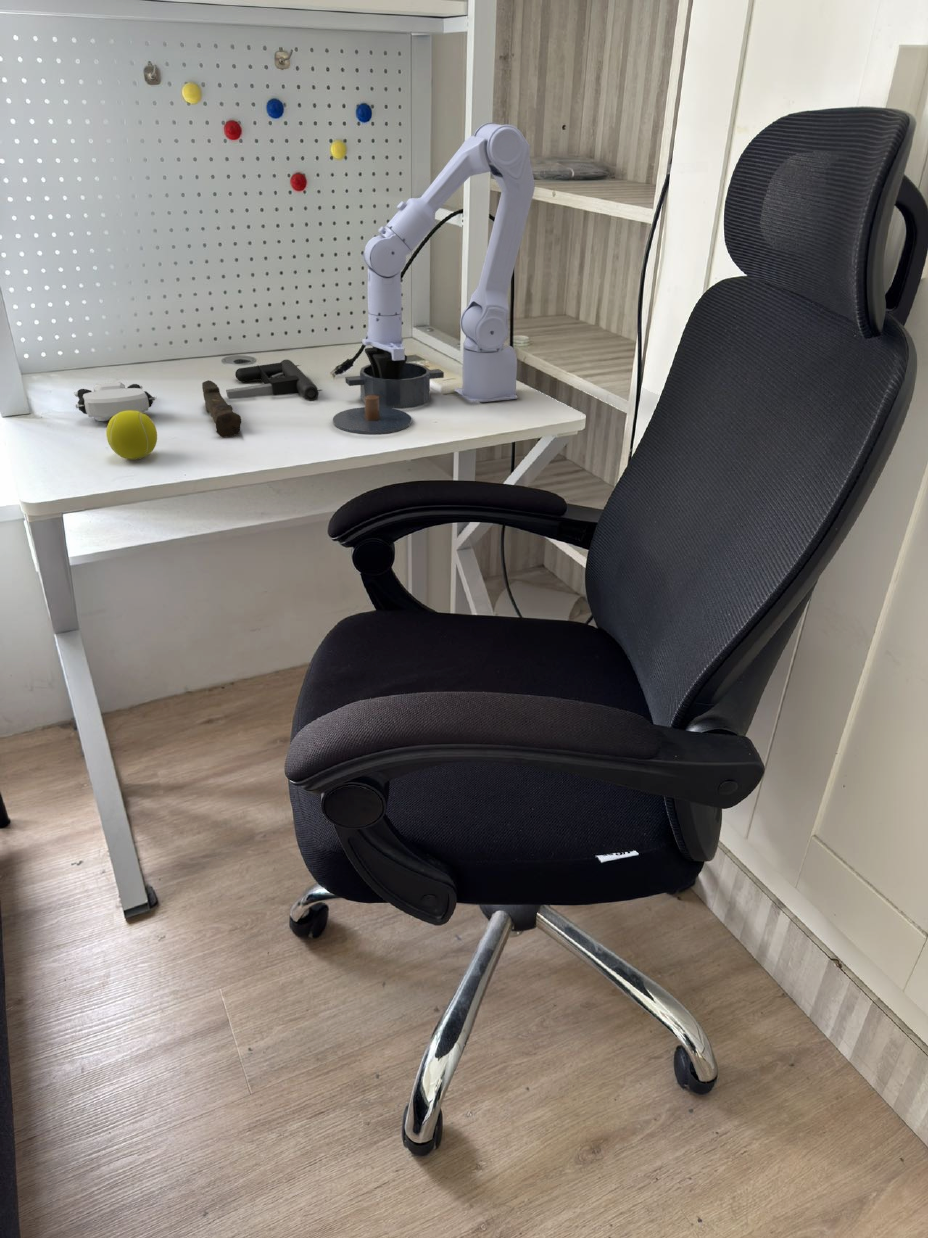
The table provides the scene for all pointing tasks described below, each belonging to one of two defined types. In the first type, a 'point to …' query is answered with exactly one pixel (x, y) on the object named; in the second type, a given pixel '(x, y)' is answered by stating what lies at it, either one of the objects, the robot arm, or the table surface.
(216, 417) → the brown rough rod
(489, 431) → the table surface
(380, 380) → the pot
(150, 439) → the tennis ball
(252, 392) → the toy submachine gun
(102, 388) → the robot toy
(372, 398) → the pot lid
